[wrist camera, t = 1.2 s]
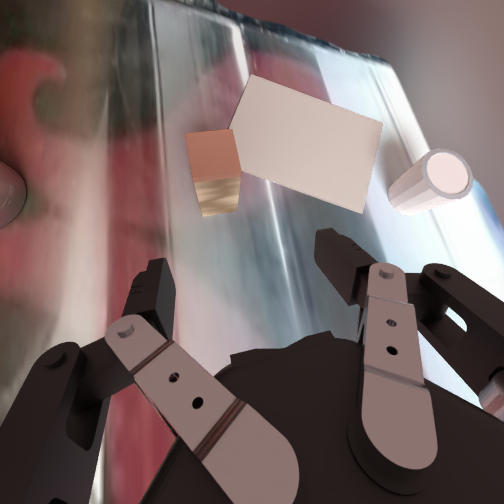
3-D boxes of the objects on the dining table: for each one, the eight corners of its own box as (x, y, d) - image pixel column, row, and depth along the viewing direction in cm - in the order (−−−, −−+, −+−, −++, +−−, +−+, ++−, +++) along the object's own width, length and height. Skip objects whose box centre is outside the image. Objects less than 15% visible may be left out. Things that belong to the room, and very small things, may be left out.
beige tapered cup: (392, 168, 36) (431, 138, 29) (432, 190, 36) (480, 164, 29) (377, 205, 34) (414, 181, 28) (418, 227, 34) (465, 209, 28)
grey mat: (215, 161, 33) (215, 160, 33) (251, 75, 37) (251, 74, 36) (361, 213, 34) (362, 213, 34) (381, 124, 38) (383, 123, 37)
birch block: (202, 216, 31) (192, 177, 22) (197, 184, 32) (184, 133, 22) (236, 210, 32) (241, 171, 22) (230, 180, 33) (232, 128, 23)
